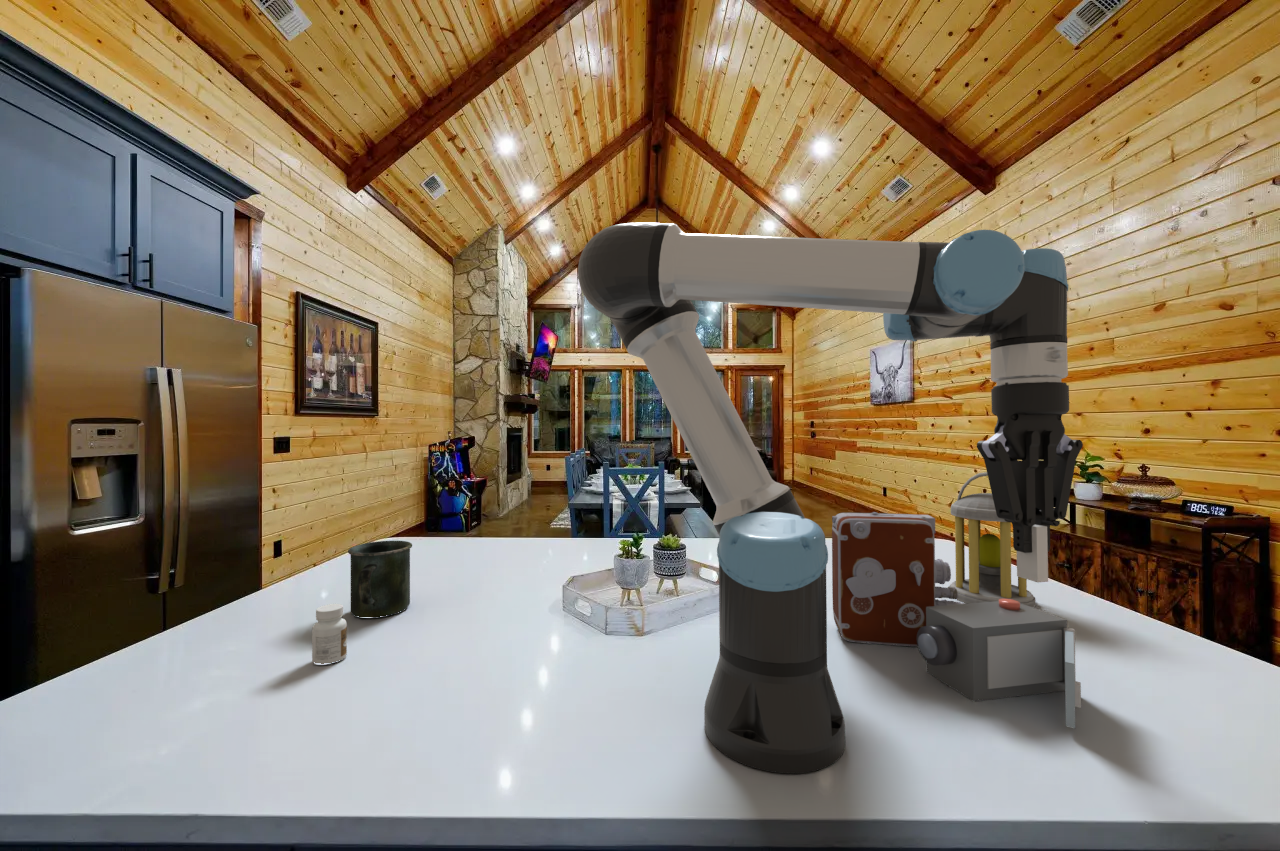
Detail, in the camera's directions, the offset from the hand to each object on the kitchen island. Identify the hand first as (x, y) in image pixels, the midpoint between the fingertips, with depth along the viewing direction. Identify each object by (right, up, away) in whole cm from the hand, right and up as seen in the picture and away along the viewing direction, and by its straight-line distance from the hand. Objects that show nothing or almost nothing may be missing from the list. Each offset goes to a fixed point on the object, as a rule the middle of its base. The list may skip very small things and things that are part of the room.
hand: (1032, 578), depth 63 cm
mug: (-96, -17, +34) cm, 103 cm away
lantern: (+22, -16, +41) cm, 49 cm away
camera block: (-1, -16, +7) cm, 17 cm away
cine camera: (-6, -16, +21) cm, 27 cm away
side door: (+4, -15, -1) cm, 15 cm away
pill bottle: (-93, -16, +14) cm, 95 cm away
